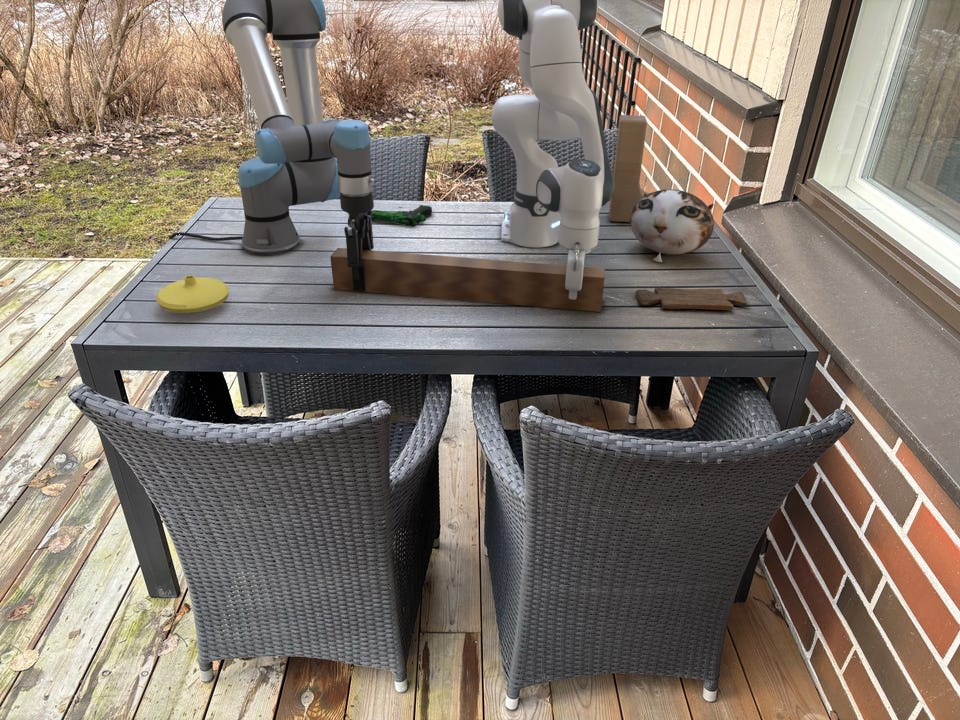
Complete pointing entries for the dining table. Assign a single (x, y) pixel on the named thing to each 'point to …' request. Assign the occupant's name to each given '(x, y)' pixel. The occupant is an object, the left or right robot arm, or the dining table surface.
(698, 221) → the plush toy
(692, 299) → the dark wooden board
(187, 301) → the yellow round disc
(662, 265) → the dining table surface
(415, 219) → the handgun
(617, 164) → the decorative block
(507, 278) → the post
